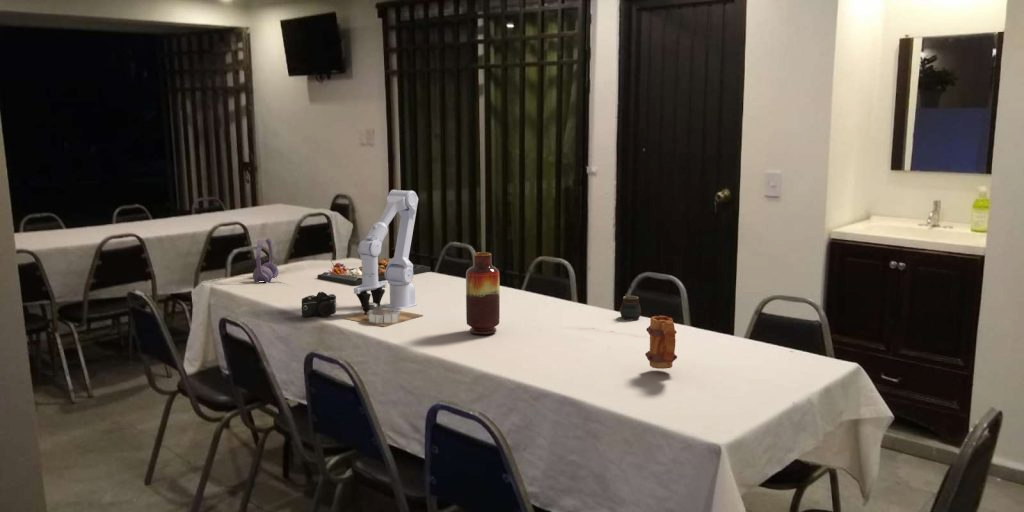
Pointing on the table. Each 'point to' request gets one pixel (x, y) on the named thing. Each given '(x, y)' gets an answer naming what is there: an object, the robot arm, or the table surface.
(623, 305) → the mate gourd
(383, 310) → the grey faceted ring
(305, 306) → the film camera
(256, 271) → the headphones
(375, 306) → the cap
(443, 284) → the table surface
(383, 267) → the food platter
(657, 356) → the mug
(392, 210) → the robot arm
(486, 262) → the vase
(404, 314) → the board
